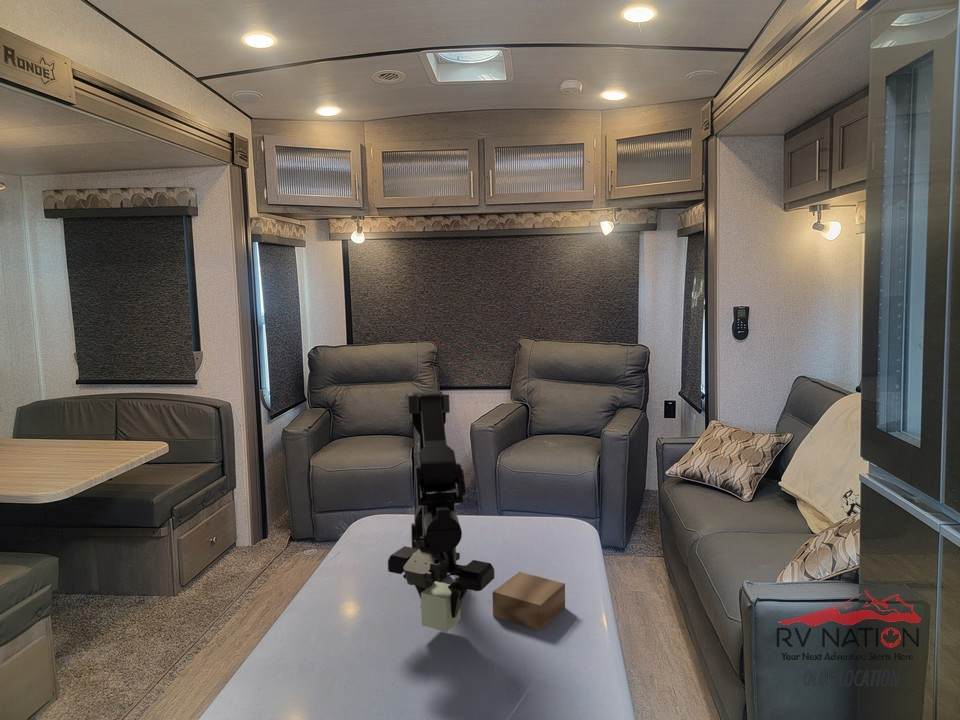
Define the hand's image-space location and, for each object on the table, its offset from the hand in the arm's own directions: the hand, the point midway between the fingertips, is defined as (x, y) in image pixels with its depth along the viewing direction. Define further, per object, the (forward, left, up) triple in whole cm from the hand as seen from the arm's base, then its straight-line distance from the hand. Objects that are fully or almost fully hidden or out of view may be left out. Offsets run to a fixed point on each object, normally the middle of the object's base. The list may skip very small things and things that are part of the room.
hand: (441, 613), depth 116 cm
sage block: (0, 0, -2) cm, 2 cm away
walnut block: (+11, +14, -4) cm, 18 cm away
